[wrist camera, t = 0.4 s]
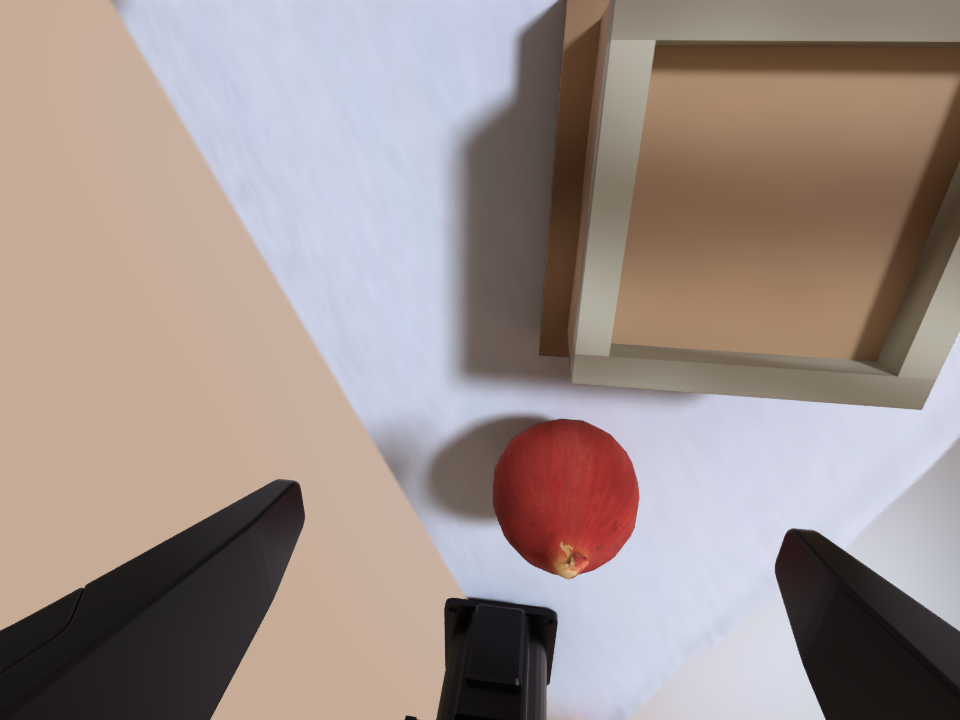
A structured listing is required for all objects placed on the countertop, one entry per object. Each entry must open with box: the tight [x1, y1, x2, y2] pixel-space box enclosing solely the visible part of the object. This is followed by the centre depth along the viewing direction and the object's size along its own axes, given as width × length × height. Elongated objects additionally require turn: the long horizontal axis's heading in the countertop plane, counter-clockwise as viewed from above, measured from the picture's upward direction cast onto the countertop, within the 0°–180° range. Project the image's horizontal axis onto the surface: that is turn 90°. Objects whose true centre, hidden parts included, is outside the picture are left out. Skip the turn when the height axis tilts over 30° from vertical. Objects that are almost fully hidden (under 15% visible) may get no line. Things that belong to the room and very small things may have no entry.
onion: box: [493, 419, 639, 579], centre depth 20 cm, size 6×6×8 cm
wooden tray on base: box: [539, 0, 960, 410], centre depth 15 cm, size 12×12×6 cm
